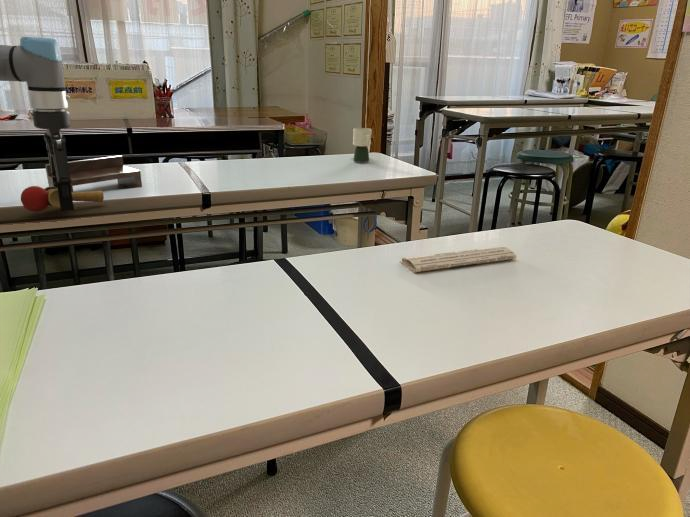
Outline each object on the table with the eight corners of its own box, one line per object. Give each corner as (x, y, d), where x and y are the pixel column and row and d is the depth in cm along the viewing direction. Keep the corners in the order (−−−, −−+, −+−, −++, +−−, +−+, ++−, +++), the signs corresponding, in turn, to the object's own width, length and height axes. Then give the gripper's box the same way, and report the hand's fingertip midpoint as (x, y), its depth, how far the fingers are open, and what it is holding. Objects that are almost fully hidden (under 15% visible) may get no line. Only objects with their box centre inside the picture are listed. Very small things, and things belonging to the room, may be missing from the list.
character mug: (375, 164, 202) (377, 130, 198) (359, 165, 199) (361, 131, 195) (362, 159, 211) (363, 126, 207) (347, 160, 208) (348, 127, 204)
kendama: (94, 202, 136) (16, 203, 123) (96, 180, 133) (16, 179, 121) (105, 214, 131) (25, 217, 118) (108, 191, 129) (26, 191, 116)
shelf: (67, 201, 140) (62, 170, 136) (50, 194, 146) (44, 164, 143) (142, 188, 155) (139, 160, 152) (123, 182, 162) (120, 155, 159)
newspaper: (415, 274, 98) (416, 265, 98) (398, 261, 104) (399, 253, 104) (515, 260, 107) (517, 252, 106) (494, 249, 113) (495, 241, 112)
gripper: (76, 114, 113) (89, 215, 121) (61, 105, 128) (74, 195, 136) (36, 115, 108) (53, 218, 117) (26, 105, 124) (42, 198, 132)
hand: (64, 206), depth 126 cm, fingers closed on kendama, 7 cm apart
